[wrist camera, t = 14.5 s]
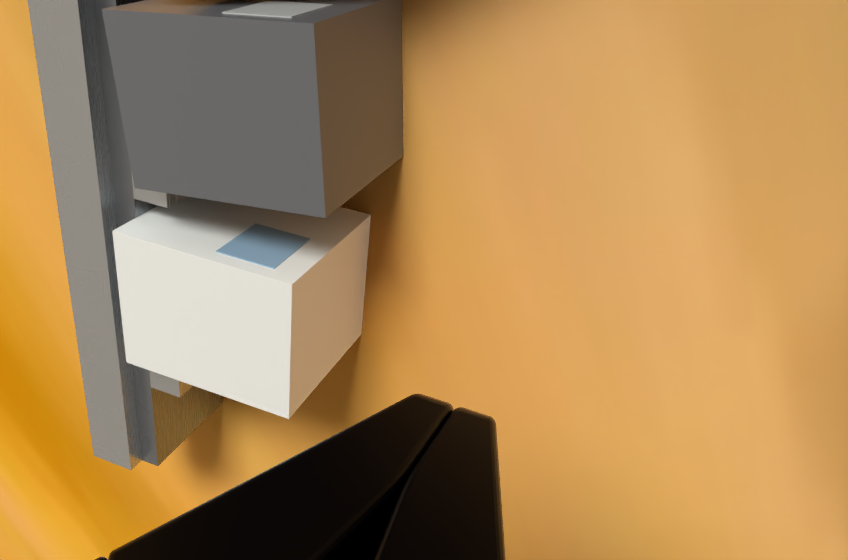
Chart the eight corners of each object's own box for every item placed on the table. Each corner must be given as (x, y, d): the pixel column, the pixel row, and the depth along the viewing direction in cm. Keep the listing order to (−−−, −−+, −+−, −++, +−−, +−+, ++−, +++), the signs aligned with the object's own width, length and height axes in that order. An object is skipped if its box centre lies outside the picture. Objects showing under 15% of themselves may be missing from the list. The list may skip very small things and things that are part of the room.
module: (372, 212, 21) (292, 283, 17) (362, 333, 23) (288, 420, 19) (217, 172, 22) (112, 229, 19) (221, 289, 24) (126, 362, 21)
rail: (241, -16, 19) (138, 6, 16) (247, 411, 26) (174, 487, 23) (143, -34, 20) (25, -18, 17) (173, 385, 27) (94, 455, 24)
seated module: (402, -7, 18) (313, 22, 14) (404, 156, 20) (325, 219, 16) (223, -17, 20) (100, 7, 16) (240, 136, 22) (134, 189, 18)
